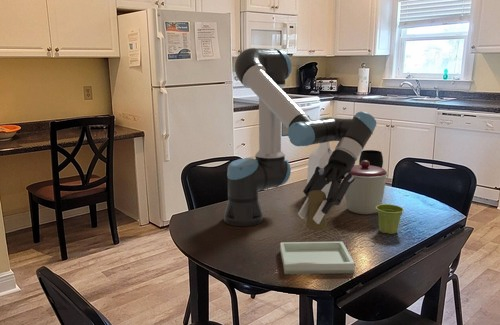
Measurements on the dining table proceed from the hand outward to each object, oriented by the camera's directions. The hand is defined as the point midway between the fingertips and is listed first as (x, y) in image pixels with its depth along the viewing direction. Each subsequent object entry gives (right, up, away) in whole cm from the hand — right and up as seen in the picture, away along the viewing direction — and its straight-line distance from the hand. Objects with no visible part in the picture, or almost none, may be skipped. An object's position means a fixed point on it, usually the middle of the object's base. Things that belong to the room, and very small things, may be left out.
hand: (308, 218), depth 127 cm
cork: (+3, -3, +3) cm, 5 cm away
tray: (+3, -14, +6) cm, 15 cm away
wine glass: (+38, +2, +74) cm, 83 cm away
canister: (+29, -4, +52) cm, 59 cm away
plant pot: (+33, -8, +29) cm, 45 cm away
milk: (+16, 0, +70) cm, 72 cm away
